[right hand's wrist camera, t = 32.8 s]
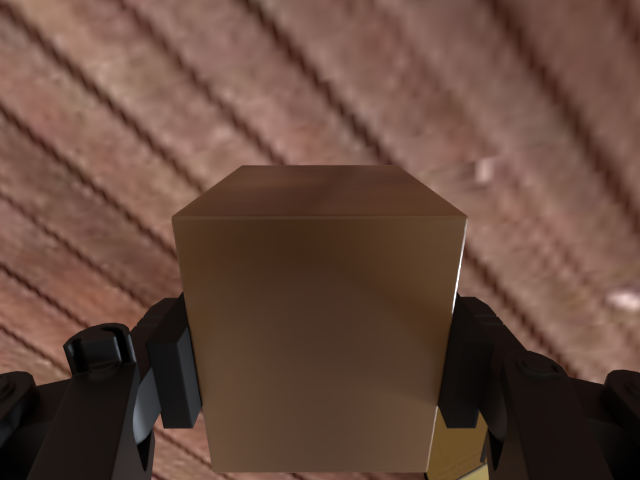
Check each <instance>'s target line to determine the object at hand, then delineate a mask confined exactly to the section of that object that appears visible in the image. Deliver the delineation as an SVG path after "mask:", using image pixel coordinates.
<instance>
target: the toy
mask: <svg viewBox="0 0 640 480" xmlns="http://www.w3.org/2000/svg"><path fill="white" fill-rule="evenodd" d="M487 427H488V426H487V424H486V422H485V420H484V418H483V417H482V415H481V413H480V412H479V417H478V421H477V426H476V428H447V427H446V425H445V422H444V420H443V417H442V415H441V412H440V410H439V407H438V408H437V415H436V421H435V427H434V433H433V439H432V445H431V452H430V458H429V464H428V470H427V472H426V473H424V477H425V480H489V475H488V466H487V457H486V459H485V463H481V462H480V457H481V452H482V448H483V444H484V439H485V435H486V431H487Z"/></svg>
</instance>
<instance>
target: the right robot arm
mask: <svg viewBox="0 0 640 480" xmlns="http://www.w3.org/2000/svg"><path fill="white" fill-rule="evenodd" d="M63 348H64V351H65V354H66V357H67V360H68V363H69V366H70V369H71V372H72V375H73V376H72V378H71V379H67V380H63V381H58V382H53V383H49V384H44V385H39V386H36V384H35V381H34V378H33V376H32V375H31V374H29V373H28V372H22V371H15V372H9V373H3V374H0V480H151V476H152V467H153V458H154V448H155V436H154V431H153V425H154V423H155V422H156V420H157V418H158V416H159V414H160V413H161V418H162V422H163V427H164V428H193V427H194V424H195V422H196V419H197V417H198V414H199V412H200V409H201V406H202V402H201V396H200V390H199V384H198V378H197V372H196V365H195V359H194V353H193V347H192V341H191V335H190V329H189V323H188V317H187V311H186V305H185V298H184V292H182V293H181V295H180V296H179V297H178V298H164V299H163V300H161V301H160V302H158V303H156V304H155V305H153V306H152V307H151V308H150V309H149V310H148V311H147V313H146V314H145V315H144V318H142V319H141V320H140V321H139V322H138V323H137V326H135V327H134V328H133V329H132V330H131V331H129V328H128V327H127V326H125V325H124V324H119V323H105V324H100V325H96V326H92V327H90V328H87V329H85V330H83V331H80V332H78V333H77V334H75V335H74V336H72V337H71V338H69V339H68V341H67V342H66V343H65V344H64V345H63ZM438 407H439V410H440V412H441V415H442V417H443V420H444V422H445V425H446V427H447V428H476V426H477V421H478V417H479V412H480V413H481V415H482V417H483V418H484V420H485V422H486V424H487V426H488V427H487V431H486V435H485V439H484V444H483V448H482V452H481V457H480V462H481V463H485V459H486V457H487V466H488V475H489V480H640V373H639V372H635V371H629V370H613V371H612V372H610V373H609V374H608V375H607V377H606V380H605V383H604V385H603V384H598V383H594V382H589V381H584V380H580V379H575V378H571V377H568V375H567V374H566V372H565V371H564V370H563V368H562V367H561V366H560V365H558V364H557V363H556V362H554V361H553V360H551V359H549V358H547V357H545V356H543V355H541V354H538V353H535V352H531V351H527V350H526V349H525V348H524V347H523V345H522V344H521V343H520V342H519V341H518V340H517V338H516V337H515V336H514V335H513V334H512V333H511V331H510V330H509V329H508V328H507V327H506V326H505V325H503V322H502V321H501V320H500V319H499V317H496V314H495V313H494V312H493V310H492V309H491V308H490V307H489V306H488V305H487V304H485V303H484V302H482V301H481V300H479V299H477V298H476V297H460V295H459V294H458V293H457V292H456V298H455V304H454V310H453V316H452V322H451V329H450V335H449V341H448V347H447V353H446V359H445V365H444V372H443V378H442V384H441V390H440V396H439V402H438Z"/></svg>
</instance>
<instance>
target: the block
mask: <svg viewBox="0 0 640 480" xmlns="http://www.w3.org/2000/svg"><path fill="white" fill-rule="evenodd" d="M467 224H468V216H467V215H466V214H464V213H463V212H461V211H460V210H459V209H457V208H456V207H454V206H453V205H452V204H450V203H449V202H448V201H446V200H445V199H443V198H442V197H441V196H439V195H438V194H436V193H435V192H434V191H432V190H431V189H430V188H428V187H427V186H425V185H424V184H423V183H421V182H420V181H418V180H417V179H416V178H414V177H413V176H412V175H410V174H409V173H407V172H406V171H405V170H403V169H402V168H400V167H399V166H397V165H243V166H241V167H239V168H238V169H236V170H235V171H234V172H232V173H231V174H230V175H228V176H227V177H225V178H224V179H223V180H221V181H220V182H219V183H217V184H216V185H214V186H213V187H212V188H210V189H209V190H208V191H206V192H205V193H203V194H202V195H201V196H199V197H198V198H197V199H195V200H194V201H193V202H191V203H190V204H188V205H187V206H186V207H184V208H183V209H182V210H180V211H179V212H177V213H176V214H175V215H173V216H172V225H173V231H174V238H175V244H176V250H177V256H178V262H179V268H180V274H181V280H182V286H183V292H184V298H185V305H186V311H187V317H188V323H189V329H190V335H191V341H192V347H193V353H194V359H195V365H196V372H197V378H198V384H199V390H200V396H201V402H202V408H203V414H204V420H205V426H206V432H207V439H208V445H209V451H210V457H211V463H212V469H213V472H215V473H322V472H427V470H428V464H429V458H430V452H431V445H432V439H433V433H434V427H435V421H436V415H437V408H438V402H439V396H440V390H441V384H442V378H443V372H444V365H445V359H446V353H447V347H448V341H449V335H450V329H451V322H452V316H453V310H454V304H455V298H456V292H457V285H458V279H459V273H460V267H461V261H462V255H463V249H464V242H465V236H466V230H467Z"/></svg>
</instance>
